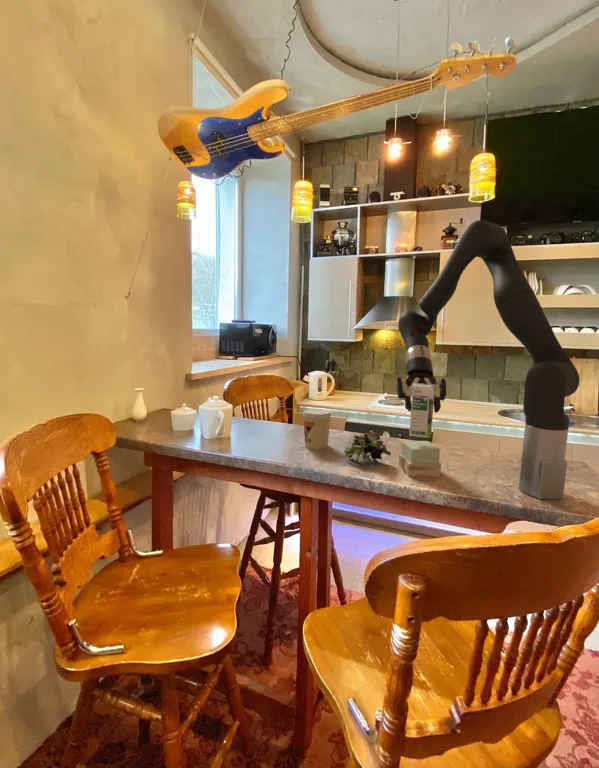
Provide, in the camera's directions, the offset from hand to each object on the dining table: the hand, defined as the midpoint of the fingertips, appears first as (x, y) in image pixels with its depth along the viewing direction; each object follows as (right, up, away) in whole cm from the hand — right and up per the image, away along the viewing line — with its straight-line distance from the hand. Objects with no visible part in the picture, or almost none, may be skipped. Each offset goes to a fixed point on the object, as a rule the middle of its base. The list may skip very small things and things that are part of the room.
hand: (423, 410), depth 112 cm
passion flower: (-14, -17, +10) cm, 24 cm away
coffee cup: (-29, -14, +26) cm, 41 cm away
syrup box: (0, -7, +3) cm, 8 cm away
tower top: (0, -14, +4) cm, 15 cm away
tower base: (0, -18, +5) cm, 19 cm away
